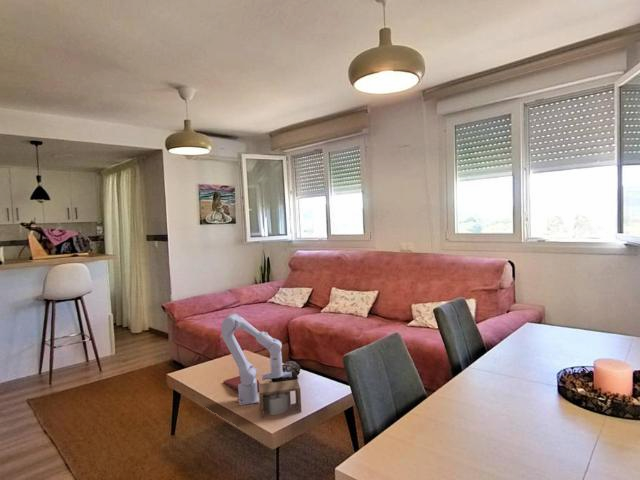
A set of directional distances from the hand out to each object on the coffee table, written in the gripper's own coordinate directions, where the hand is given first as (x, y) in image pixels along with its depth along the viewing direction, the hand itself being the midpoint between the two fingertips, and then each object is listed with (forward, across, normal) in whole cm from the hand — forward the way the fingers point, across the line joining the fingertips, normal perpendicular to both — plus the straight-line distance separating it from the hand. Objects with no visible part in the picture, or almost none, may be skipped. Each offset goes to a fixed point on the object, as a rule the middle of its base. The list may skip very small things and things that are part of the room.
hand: (277, 392), depth 193 cm
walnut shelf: (+4, 0, +11) cm, 11 cm away
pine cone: (+4, -7, -22) cm, 23 cm away
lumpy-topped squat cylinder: (+4, +1, +8) cm, 9 cm away
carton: (+5, +18, -22) cm, 29 cm away
